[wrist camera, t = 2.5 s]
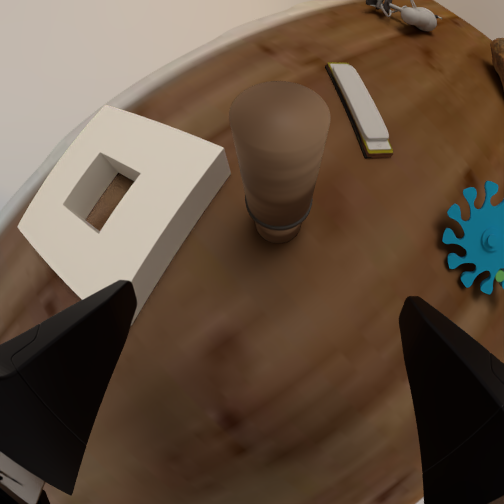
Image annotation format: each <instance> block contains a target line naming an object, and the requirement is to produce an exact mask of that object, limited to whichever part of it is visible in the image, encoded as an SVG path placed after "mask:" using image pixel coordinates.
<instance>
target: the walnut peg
mask: <svg viewBox="0 0 504 504" xmlns="http://www.w3.org/2000/svg"><path fill="white" fill-rule="evenodd" d="M229 121H230V126H231V130H232V135H233V139H234V144H235V149H236V153H237V158H238V163H239V167H240V172H241V177H242V181H243V186H244V191H245V202H246V207H247V210H248V212H249V214H250V216H251V217H252V219H253V220H254V221H255V225H256V229H257V231H258V233H259V234H260V235H261V237H263V238H264V239H265V240H267V241H269V242H272V243H285V242H288V241H290V240H291V239H293V238H294V237H295V236H296V235H297V234H298V232H299V230H300V227H301V223H302V222H303V221H304V220H305V219H306V217H307V216H308V214H309V212H310V209H311V205H312V196H313V192H314V188H315V184H316V180H317V176H318V172H319V168H320V164H321V159H322V155H323V151H324V147H325V143H326V138H327V134H328V130H329V125H330V112H329V108H328V106H327V104H326V103H325V101H324V100H323V99H322V98H321V97H320V96H319V95H318V94H317V93H316V92H314V91H313V90H311V89H309V88H307V87H305V86H303V85H300V84H296V83H292V82H286V81H271V82H264V83H260V84H257V85H254V86H252V87H250V88H248V89H246V90H245V91H243V92H242V93H240V94H239V95H238V96H237V97H236V99H235V100H234V101H233V103H232V105H231V107H230V111H229Z"/></svg>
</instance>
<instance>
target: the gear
mask: <svg viewBox="0 0 504 504" xmlns="http://www.w3.org/2000/svg"><path fill="white" fill-rule="evenodd" d="M484 186H485V193H486V196H485V201H484V203H483V205H482V207H481V208H480V209H476V208H475V207H474V200H475V198H476V195H477V192H476V189H475V188H473V187H470V188H466V189H464V190H463V195H464V197H465V198H466V200H467V201H468V203H469V206H470V218H469V220H467V221H463V220H462V219H461V211H460V208H459V206H458V205H457V204H453V205H452V206H451V207H450V208H449V210H448V211H447V213H448V215H449V217H450V218H452V219H454V220H456V221H457V222H459V223H460V225H461V226H462V228H463V230H464V236H463V237H462V238H460V239H459V238H457V237H456V236H455V234H454V232H453V231H452V230H451V229H450V228H446V229H445V231H444V234H443V240H442V241H443V242H444V243H445V244H451V243H454V244H458V245H460V246H462V247H463V248H464V249H466V255H465V256H464V257H460V256H458V255H457V254H455V253H450V254H448V264H449V268H450V269H455V268H456V267H457V266H459V265H460V264H463V263H474V264H475V265H476V268H475V270H474V271H472V272H469V271H465V272H463V273H462V274H461V281H462V282H463V284H464V285H465V286H466V287H467V288H468V287H470V286H471V285H472V283H473V281H474V279H475V278H476V276H477V275H479V274H480V273H482V272H483V271H486V270H487V271H489V272H490V275H489V277H488V278H486V279H485V280H483V281H482V282H481V284H480V289H481V291H482V292H484V293H486V294H491V293H492V291H493V280H494V277H495V278H496V280H497V281H498V282H499V284H500V285H501V286H502V287H503V289H504V199H503V201H502V202H501V203H500V204H498V205H497V206H492V205H491V203H490V198H491V197H492V196H493V195H494V194H496V193H497V191H498V185H497V184H496V183H494V182H491V181H486V182H485V185H484Z"/></svg>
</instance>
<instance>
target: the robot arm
mask: <svg viewBox="0 0 504 504" xmlns="http://www.w3.org/2000/svg"><path fill="white" fill-rule="evenodd" d="M136 308H137V298H136V295H135V291H134V287H133V284H132V282H131V281H129V280H118V281H116V282H114V283H113V284H111V285H109V286H107V287H105V288H103V289H101V290H99V291H98V292H96V293H94V294H92V295H90V296H88V297H87V298H85V299H83V300H81V301H79V302H77V303H76V304H74V305H72V306H70V307H68V308H67V309H65V310H63V311H61V312H59V313H58V314H56V315H54V316H52V317H50V318H49V319H47V320H45V321H43V322H42V323H41V324H38V325H36V326H35V327H33V328H31V329H29V330H28V331H26V332H24V333H22V334H20V335H18V336H17V337H15V338H13V339H11V340H9V341H7V342H5V343H3V344H1V345H0V504H50V502H49V500H48V497H47V494H46V492H45V491H44V490H43V487H44V485H45V482H47V483H48V484H50V485H52V486H54V487H55V488H57V489H59V490H61V491H63V492H65V493H67V494H69V495H72V493H73V490H74V486H75V482H76V479H77V475H78V472H79V468H80V465H81V462H82V458H83V455H84V452H85V449H86V445H87V442H88V439H89V436H90V433H91V430H92V427H93V424H94V421H95V419H96V416H97V413H98V410H99V407H100V405H101V402H102V399H103V397H104V394H105V391H106V389H107V386H108V384H109V381H110V379H111V376H112V374H113V371H114V369H115V366H116V364H117V361H118V359H119V357H120V354H121V352H122V349H123V347H124V344H125V342H126V339H127V336H128V333H129V329H130V326H131V323H132V320H133V317H134V314H135V311H136ZM399 326H400V333H401V340H402V347H403V354H404V361H405V366H406V371H407V375H408V380H409V384H410V389H411V394H412V399H413V405H414V411H415V416H416V423H417V429H418V436H419V444H420V452H421V462H422V472H423V474H422V475H423V490H424V504H504V364H503V363H502V362H501V361H500V360H499V359H497V358H496V357H495V356H494V355H493V354H492V353H490V352H489V351H488V350H487V349H486V348H484V347H483V346H482V345H481V344H480V343H478V342H477V341H476V340H475V339H473V338H472V337H471V336H470V335H468V334H467V333H466V332H465V331H463V330H462V329H461V328H460V327H458V326H457V325H456V324H455V323H453V322H452V321H451V320H449V319H448V318H447V317H446V316H444V315H443V314H442V313H440V312H439V311H438V310H436V309H435V308H434V307H432V306H431V305H430V304H428V303H427V302H426V301H424V300H423V299H422V298H420V297H418V296H409V297H407V298H406V300H405V302H404V305H403V308H402V310H401V313H400V316H399Z"/></svg>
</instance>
